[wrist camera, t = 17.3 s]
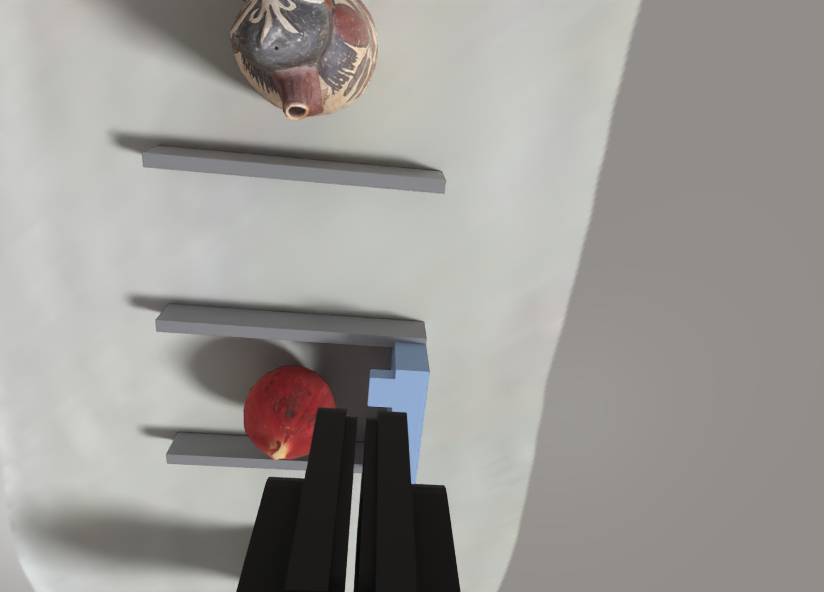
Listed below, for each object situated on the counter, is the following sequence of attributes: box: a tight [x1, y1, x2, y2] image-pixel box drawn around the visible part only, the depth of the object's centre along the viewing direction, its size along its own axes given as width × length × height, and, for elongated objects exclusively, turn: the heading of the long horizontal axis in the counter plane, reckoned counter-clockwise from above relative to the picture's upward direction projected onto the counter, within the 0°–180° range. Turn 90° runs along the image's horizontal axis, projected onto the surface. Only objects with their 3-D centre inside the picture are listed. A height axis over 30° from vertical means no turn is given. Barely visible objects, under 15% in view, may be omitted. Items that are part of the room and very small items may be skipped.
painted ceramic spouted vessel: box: [229, 0, 378, 120], centre depth 27 cm, size 7×7×12 cm
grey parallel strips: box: [142, 146, 446, 473], centre depth 38 cm, size 21×17×2 cm
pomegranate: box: [244, 366, 335, 460], centre depth 38 cm, size 6×6×8 cm
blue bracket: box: [360, 342, 430, 492], centre depth 39 cm, size 10×4×6 cm, turn 174°
